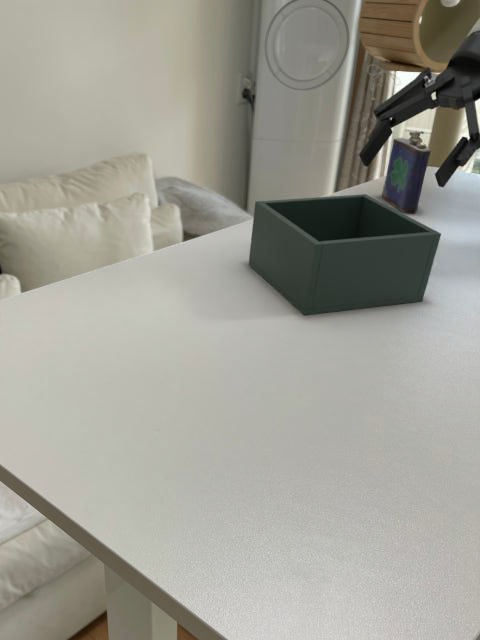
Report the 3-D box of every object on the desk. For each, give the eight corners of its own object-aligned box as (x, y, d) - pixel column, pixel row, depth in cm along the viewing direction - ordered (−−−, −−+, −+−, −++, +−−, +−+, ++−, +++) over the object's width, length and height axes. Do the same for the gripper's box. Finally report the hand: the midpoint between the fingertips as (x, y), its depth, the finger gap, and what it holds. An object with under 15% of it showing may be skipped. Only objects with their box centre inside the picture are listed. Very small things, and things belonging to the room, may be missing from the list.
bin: (353, 254, 83) (365, 193, 79) (422, 301, 72) (441, 233, 67) (248, 264, 79) (255, 201, 75) (303, 315, 68) (315, 244, 64)
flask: (378, 196, 105) (394, 124, 99) (395, 195, 105) (412, 124, 99) (404, 214, 98) (422, 137, 91) (422, 213, 98) (442, 137, 92)
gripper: (408, 24, 101) (327, 137, 103) (568, 39, 85) (469, 173, 87) (420, 61, 107) (343, 168, 108) (572, 81, 91) (479, 207, 92)
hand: (399, 170), depth 97 cm, fingers open, 13 cm apart
